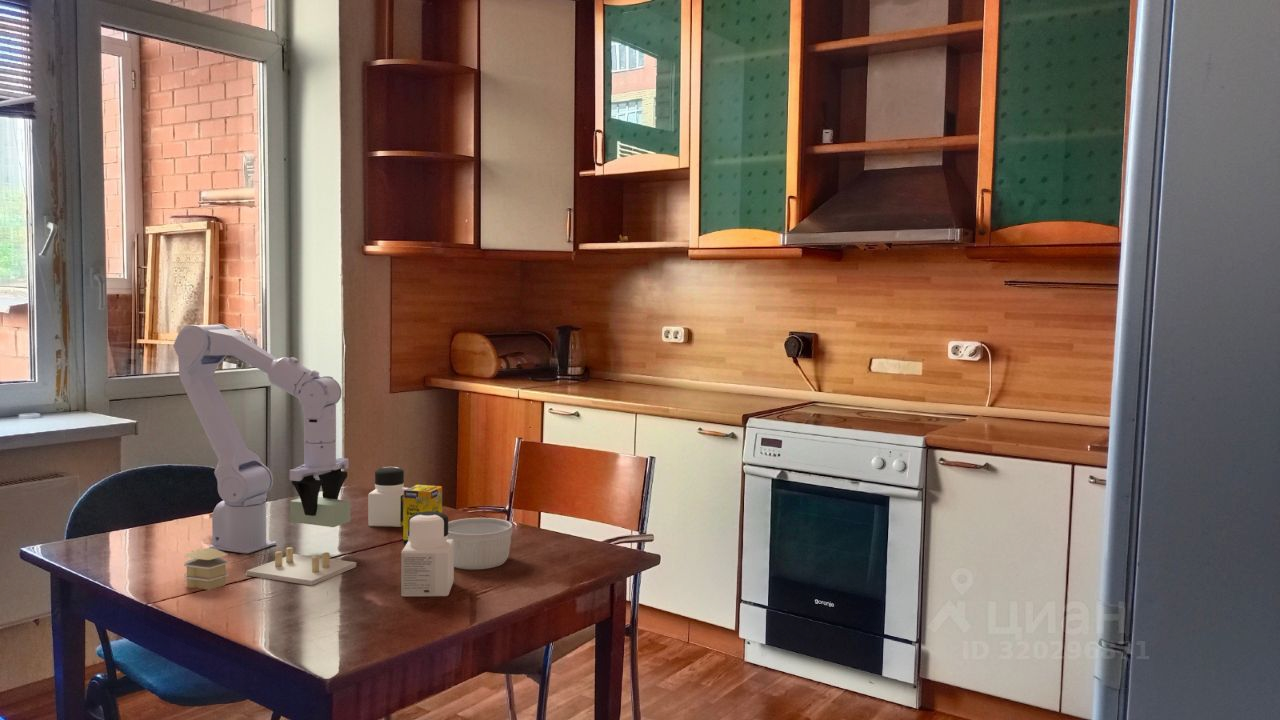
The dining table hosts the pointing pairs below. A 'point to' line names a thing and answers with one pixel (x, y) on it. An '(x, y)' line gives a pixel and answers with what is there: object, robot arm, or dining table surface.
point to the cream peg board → (301, 568)
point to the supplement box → (420, 503)
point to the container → (427, 556)
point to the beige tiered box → (206, 569)
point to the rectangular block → (322, 512)
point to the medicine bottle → (387, 498)
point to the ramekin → (480, 542)
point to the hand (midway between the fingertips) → (320, 512)
